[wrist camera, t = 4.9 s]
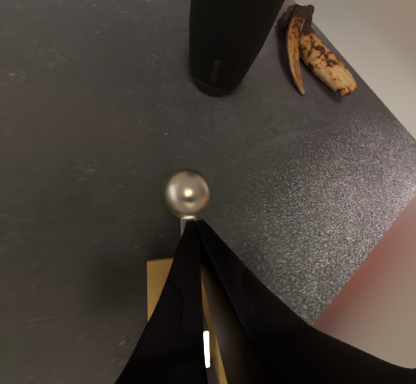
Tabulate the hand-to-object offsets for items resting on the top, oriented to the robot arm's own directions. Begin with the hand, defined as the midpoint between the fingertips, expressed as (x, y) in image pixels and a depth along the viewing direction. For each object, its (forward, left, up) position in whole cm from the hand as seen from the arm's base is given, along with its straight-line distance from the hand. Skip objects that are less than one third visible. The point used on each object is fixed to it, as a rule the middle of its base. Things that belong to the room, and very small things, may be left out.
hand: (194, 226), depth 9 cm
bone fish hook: (+17, -29, -13) cm, 37 cm away
